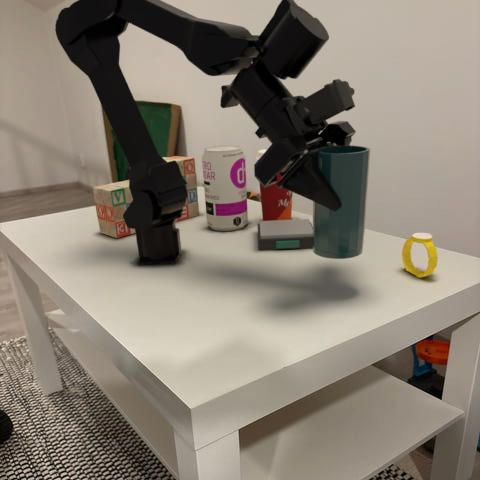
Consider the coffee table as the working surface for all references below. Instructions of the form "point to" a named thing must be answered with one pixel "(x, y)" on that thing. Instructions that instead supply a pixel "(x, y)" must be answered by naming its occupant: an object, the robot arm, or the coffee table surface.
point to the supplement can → (225, 187)
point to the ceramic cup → (342, 202)
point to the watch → (431, 251)
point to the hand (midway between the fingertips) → (349, 202)
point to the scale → (285, 234)
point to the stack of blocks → (119, 198)
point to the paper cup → (275, 199)
